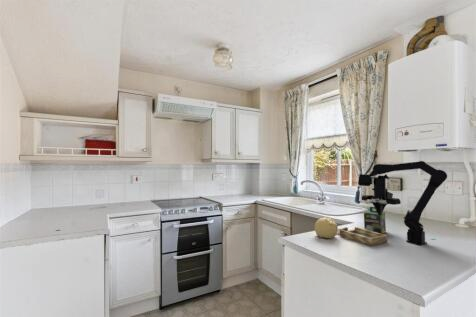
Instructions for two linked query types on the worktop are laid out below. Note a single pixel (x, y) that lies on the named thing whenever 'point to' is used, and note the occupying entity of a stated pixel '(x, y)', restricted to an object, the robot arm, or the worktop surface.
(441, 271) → the worktop surface
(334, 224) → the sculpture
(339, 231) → the cover plate
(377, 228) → the chalk box
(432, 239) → the worktop surface
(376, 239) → the tan wooden rectangular frame
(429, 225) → the worktop surface
